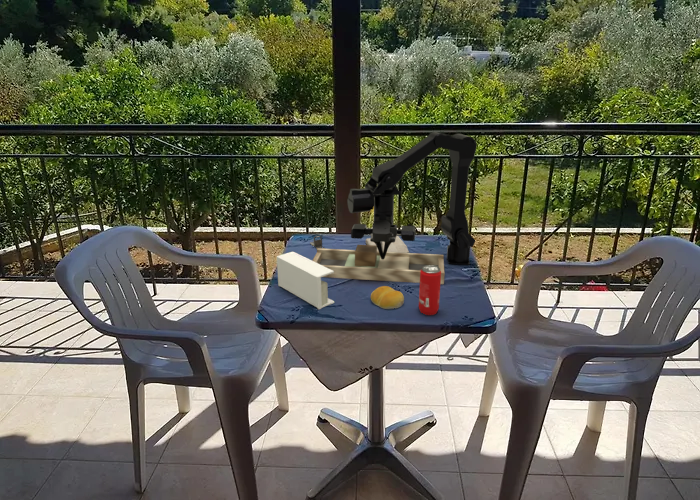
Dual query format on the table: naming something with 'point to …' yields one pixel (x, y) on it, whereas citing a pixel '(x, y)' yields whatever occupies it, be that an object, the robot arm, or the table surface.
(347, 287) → the table surface
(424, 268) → the beverage can
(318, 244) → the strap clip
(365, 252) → the walnut block
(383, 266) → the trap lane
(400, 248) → the washcloth
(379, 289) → the bread roll
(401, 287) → the table surface
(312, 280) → the white plastic beam
